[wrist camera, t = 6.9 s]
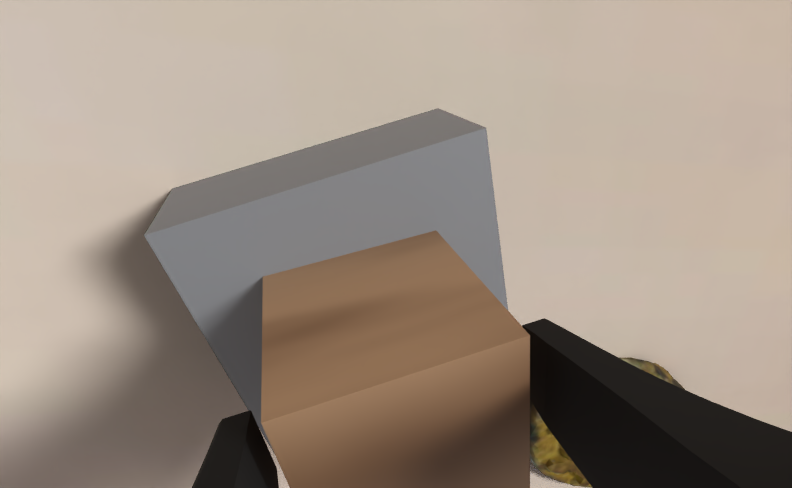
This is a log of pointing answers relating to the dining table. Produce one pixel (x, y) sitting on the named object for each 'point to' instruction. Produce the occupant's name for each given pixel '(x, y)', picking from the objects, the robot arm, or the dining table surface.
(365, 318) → the walnut cube
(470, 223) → the grey block
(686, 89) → the dining table surface
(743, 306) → the dining table surface
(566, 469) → the seal
